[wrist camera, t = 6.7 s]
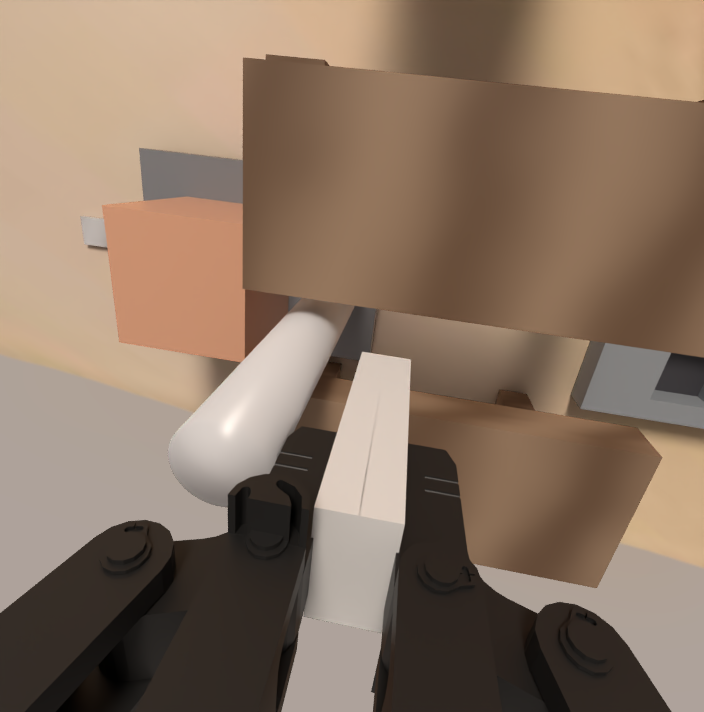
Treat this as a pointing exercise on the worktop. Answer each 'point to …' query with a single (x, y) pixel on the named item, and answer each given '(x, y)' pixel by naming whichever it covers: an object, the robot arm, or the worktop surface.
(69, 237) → the worktop surface
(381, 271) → the wooden rack
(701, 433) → the worktop surface
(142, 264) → the white lever handle
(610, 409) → the pit plate
